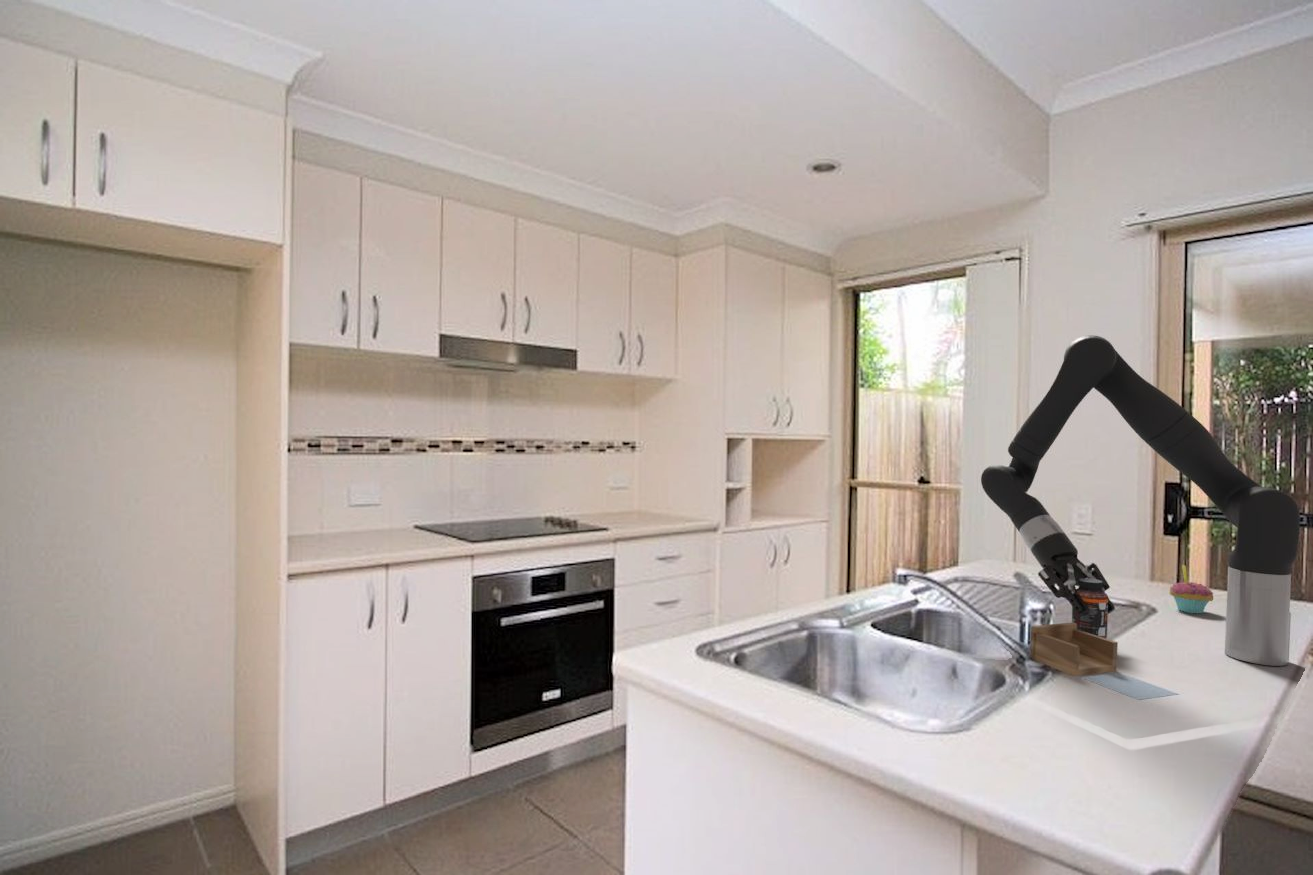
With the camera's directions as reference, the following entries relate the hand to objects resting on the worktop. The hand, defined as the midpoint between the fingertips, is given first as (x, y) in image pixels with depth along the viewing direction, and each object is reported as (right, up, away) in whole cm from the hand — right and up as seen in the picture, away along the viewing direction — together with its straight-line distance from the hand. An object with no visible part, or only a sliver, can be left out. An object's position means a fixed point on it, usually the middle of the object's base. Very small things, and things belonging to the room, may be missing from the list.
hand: (1098, 612), depth 134 cm
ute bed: (-11, -8, -10) cm, 17 cm away
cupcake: (+45, -9, +36) cm, 58 cm away
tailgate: (-9, -7, -15) cm, 19 cm away
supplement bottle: (-1, -6, +2) cm, 6 cm away
